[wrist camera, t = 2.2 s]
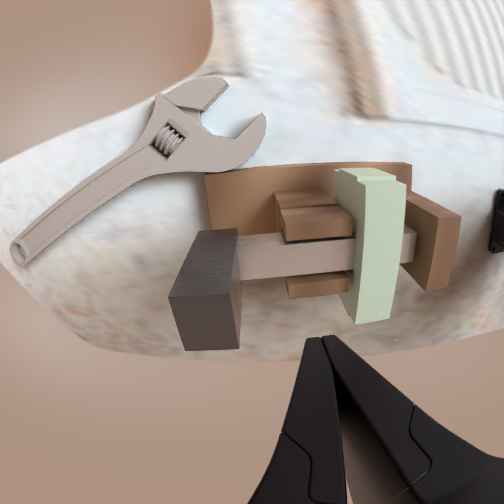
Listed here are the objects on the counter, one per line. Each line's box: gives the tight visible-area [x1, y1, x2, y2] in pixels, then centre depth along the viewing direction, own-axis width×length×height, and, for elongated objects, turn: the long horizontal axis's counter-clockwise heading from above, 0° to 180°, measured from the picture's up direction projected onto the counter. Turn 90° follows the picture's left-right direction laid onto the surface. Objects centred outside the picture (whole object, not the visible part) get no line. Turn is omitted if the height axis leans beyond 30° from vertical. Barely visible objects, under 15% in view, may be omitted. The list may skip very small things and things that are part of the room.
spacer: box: [334, 168, 407, 325], centre depth 14 cm, size 2×7×5 cm, turn 5°
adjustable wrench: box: [10, 77, 266, 266], centre depth 17 cm, size 25×6×2 cm, turn 110°
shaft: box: [168, 224, 417, 351], centre depth 12 cm, size 11×2×6 cm, turn 96°
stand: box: [204, 162, 461, 299], centre depth 15 cm, size 14×7×8 cm, turn 96°
